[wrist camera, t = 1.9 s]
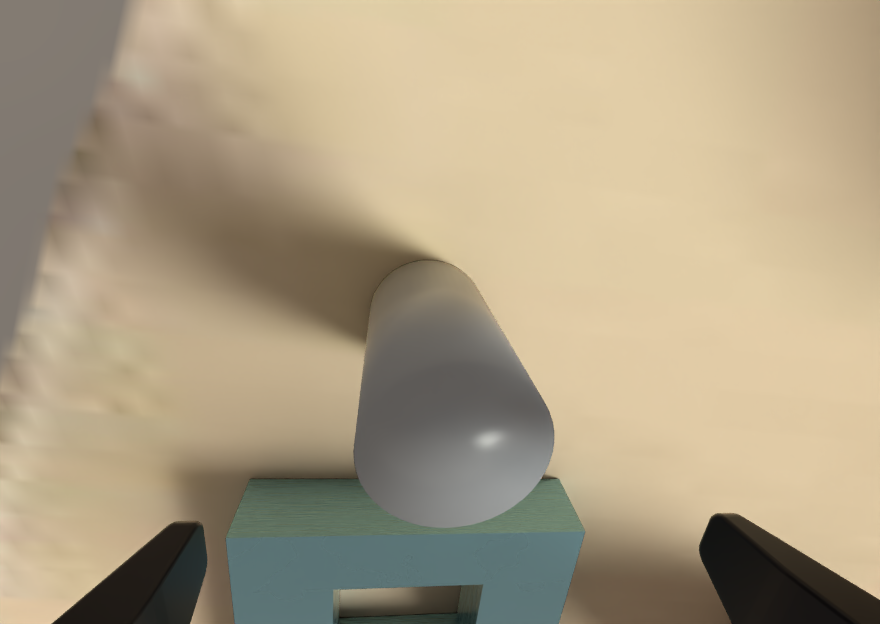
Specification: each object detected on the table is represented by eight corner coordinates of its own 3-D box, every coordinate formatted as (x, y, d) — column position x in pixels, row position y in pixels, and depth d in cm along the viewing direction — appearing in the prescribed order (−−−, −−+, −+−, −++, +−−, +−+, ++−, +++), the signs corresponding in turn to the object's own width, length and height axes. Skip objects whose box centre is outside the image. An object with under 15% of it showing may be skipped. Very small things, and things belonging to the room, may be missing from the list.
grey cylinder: (490, 263, 16) (572, 366, 9) (475, 367, 18) (535, 526, 11) (372, 255, 16) (356, 358, 8) (367, 363, 17) (350, 529, 10)
